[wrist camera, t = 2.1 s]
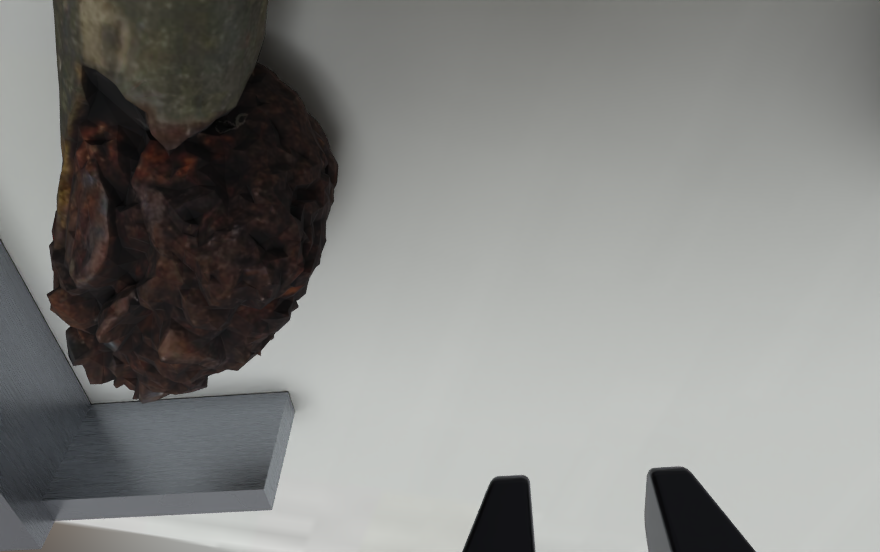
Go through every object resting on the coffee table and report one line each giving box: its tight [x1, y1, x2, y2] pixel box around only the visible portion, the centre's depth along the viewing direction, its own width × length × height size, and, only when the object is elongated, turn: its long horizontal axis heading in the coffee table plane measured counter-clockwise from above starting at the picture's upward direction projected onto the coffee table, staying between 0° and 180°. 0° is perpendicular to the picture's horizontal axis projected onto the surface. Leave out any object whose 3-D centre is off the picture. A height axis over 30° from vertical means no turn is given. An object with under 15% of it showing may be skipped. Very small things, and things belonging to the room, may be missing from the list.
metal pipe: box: [47, 0, 338, 404], centre depth 17 cm, size 18×7×6 cm, turn 166°
